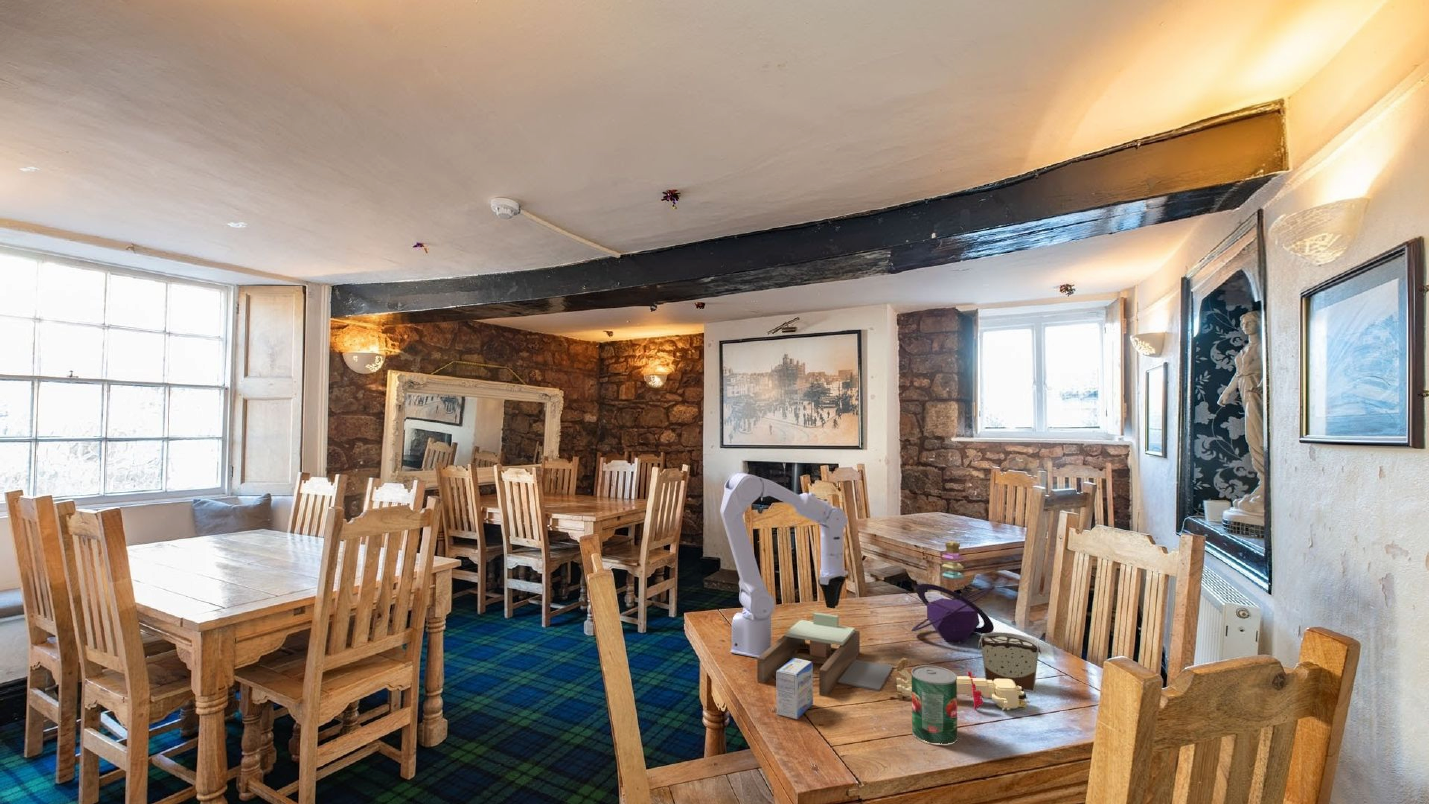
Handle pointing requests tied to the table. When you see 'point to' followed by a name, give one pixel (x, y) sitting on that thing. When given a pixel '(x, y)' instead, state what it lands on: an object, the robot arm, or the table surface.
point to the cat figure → (974, 689)
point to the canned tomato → (934, 704)
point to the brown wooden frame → (827, 673)
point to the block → (820, 649)
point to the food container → (1010, 658)
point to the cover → (821, 630)
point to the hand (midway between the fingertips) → (832, 606)
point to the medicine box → (794, 688)
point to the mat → (866, 675)
